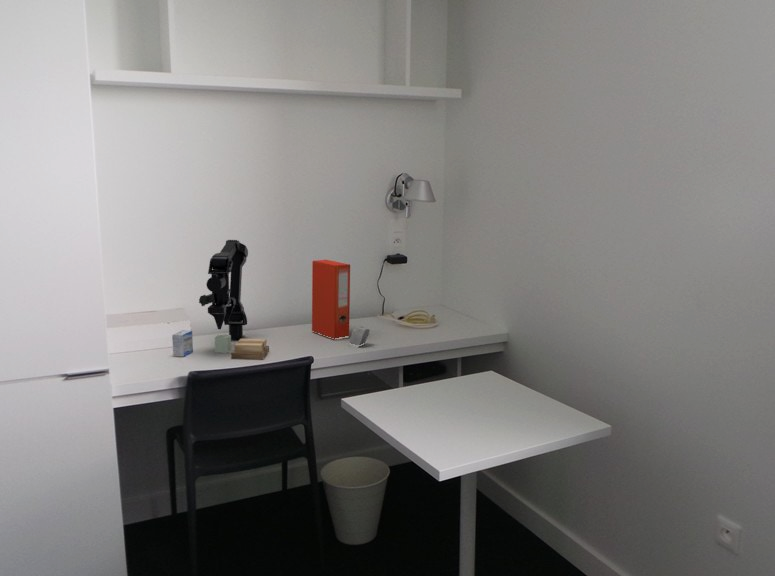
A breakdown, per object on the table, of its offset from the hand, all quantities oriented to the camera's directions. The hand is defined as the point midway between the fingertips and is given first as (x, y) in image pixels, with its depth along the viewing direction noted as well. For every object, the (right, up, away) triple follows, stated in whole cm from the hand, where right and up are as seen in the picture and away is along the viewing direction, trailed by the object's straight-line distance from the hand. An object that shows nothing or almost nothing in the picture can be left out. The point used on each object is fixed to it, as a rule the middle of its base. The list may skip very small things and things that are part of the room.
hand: (222, 326), depth 270 cm
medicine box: (-14, -11, -4) cm, 18 cm away
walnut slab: (+12, -12, -4) cm, 17 cm away
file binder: (+40, -6, +30) cm, 50 cm away
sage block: (0, -10, +2) cm, 10 cm away
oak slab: (+12, -9, -4) cm, 15 cm away
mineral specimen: (+53, -9, +14) cm, 56 cm away
